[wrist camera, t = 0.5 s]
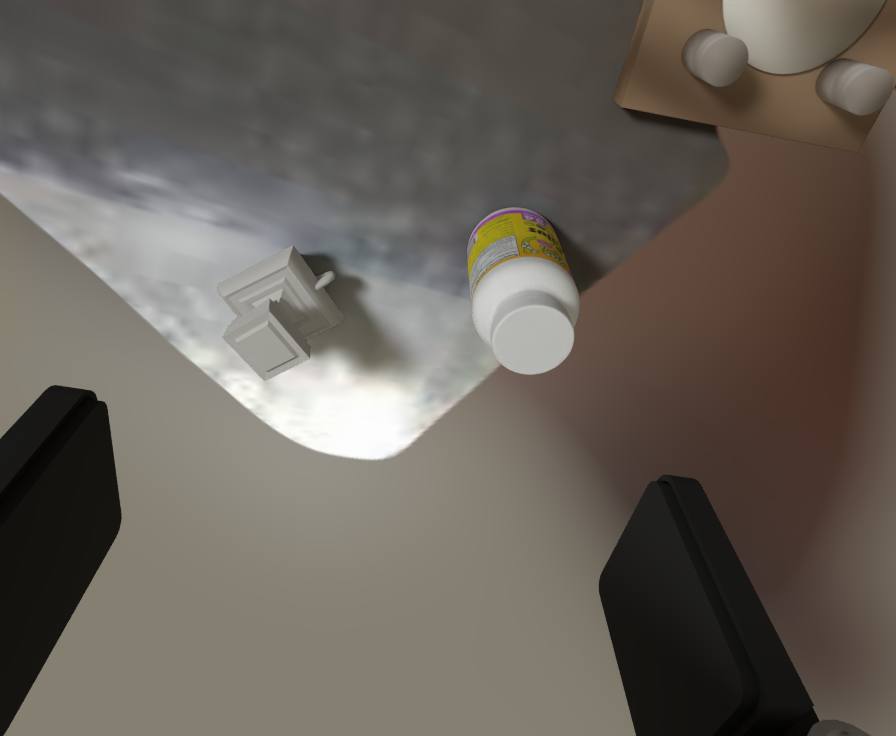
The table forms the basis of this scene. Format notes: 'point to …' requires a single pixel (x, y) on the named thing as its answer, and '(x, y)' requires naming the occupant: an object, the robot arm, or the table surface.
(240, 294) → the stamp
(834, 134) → the stub board
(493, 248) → the supplement bottle
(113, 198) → the table surface
